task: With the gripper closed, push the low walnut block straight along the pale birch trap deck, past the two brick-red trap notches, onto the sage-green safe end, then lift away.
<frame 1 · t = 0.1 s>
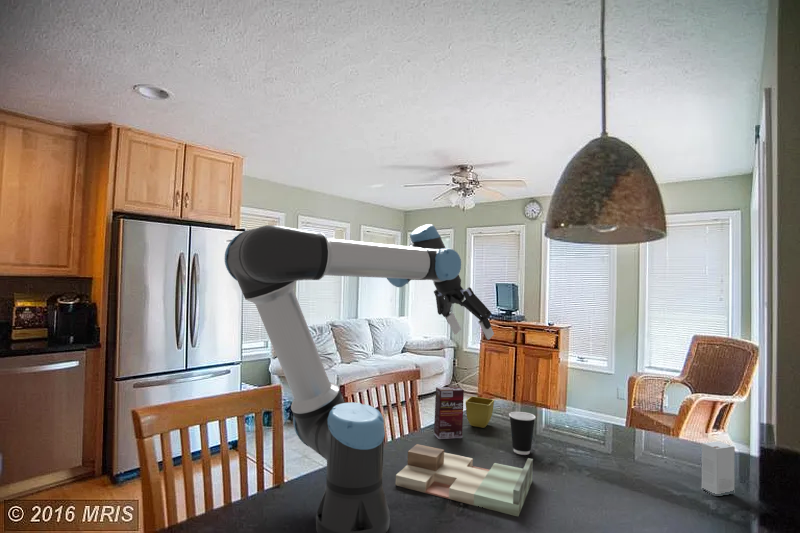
hand: (473, 334, 129), 36 cm above the table, tool tilted 35°, fingers open, 13 cm apart
supplement box: (448, 437, 143), on the table
dixie cup: (521, 452, 131), on the table
trap deck: (465, 482, 109), on the table
walnut block: (425, 463, 114), point 2 cm above the table, touching trap deck
flower pot: (479, 426, 155), on the table
skincare box: (718, 493, 108), on the table
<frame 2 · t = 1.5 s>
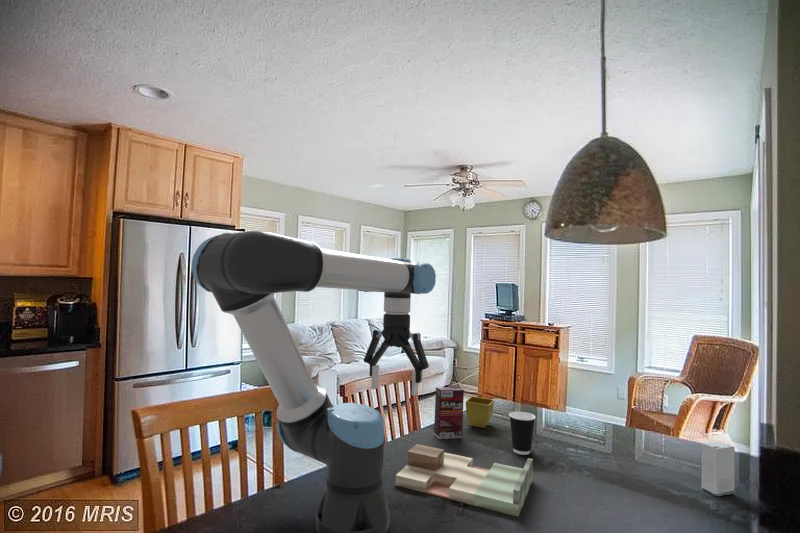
hand: (394, 391, 119), 20 cm above the table, tool pointing down, fingers open, 12 cm apart
nothing on the table moved.
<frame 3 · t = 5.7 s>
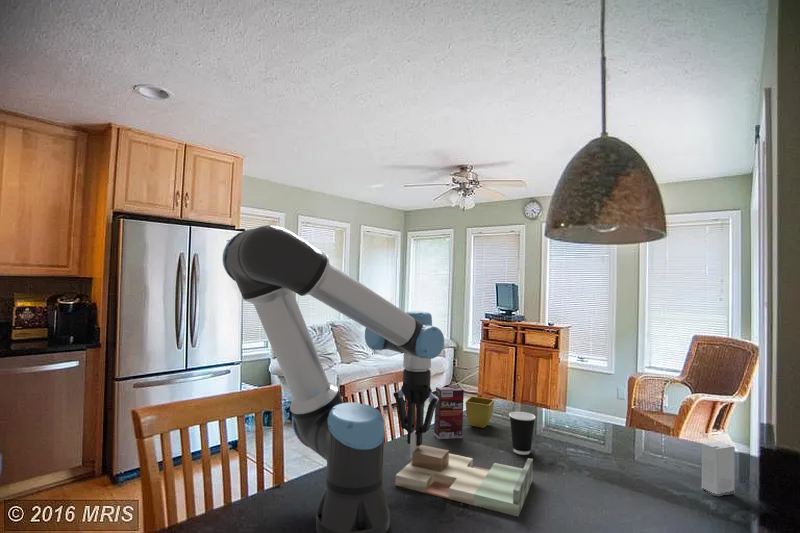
hand: (414, 456, 116), 4 cm above the table, tool pointing down, fingers closed
walnut block: (430, 464, 114), point 3 cm above the table, touching gripper
everything else where it was.
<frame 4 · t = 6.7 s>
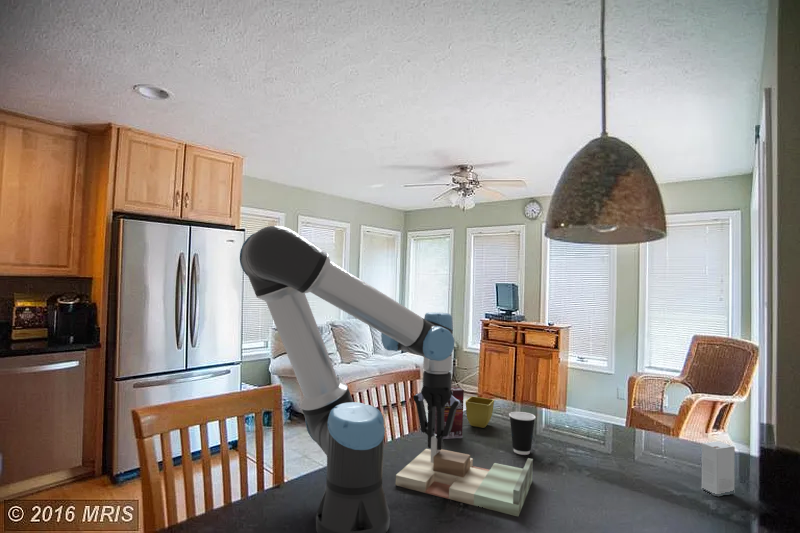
hand: (434, 460, 113), 4 cm above the table, tool pointing down, fingers closed
walnut block: (451, 469, 111), point 2 cm above the table, touching gripper, trap deck
everything else where it was.
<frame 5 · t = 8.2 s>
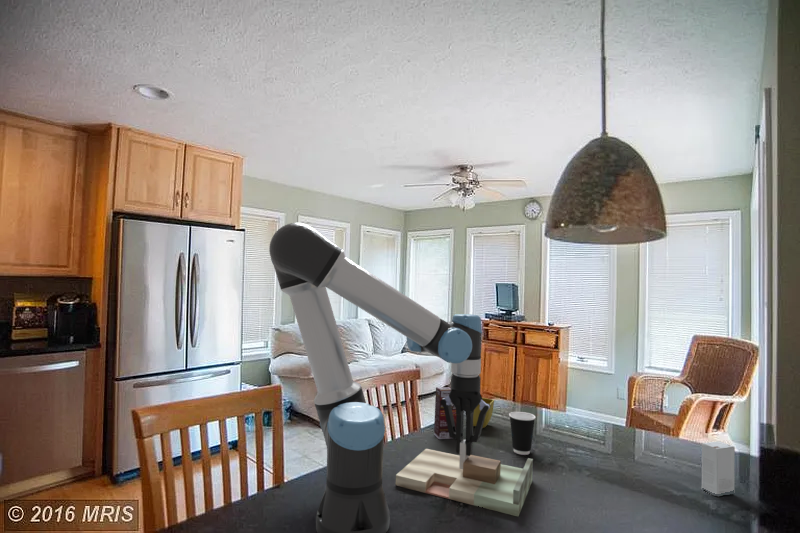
hand: (463, 467, 110), 4 cm above the table, tool pointing down, fingers closed
walnut block: (481, 476, 108), point 3 cm above the table, touching gripper
everything else where it was.
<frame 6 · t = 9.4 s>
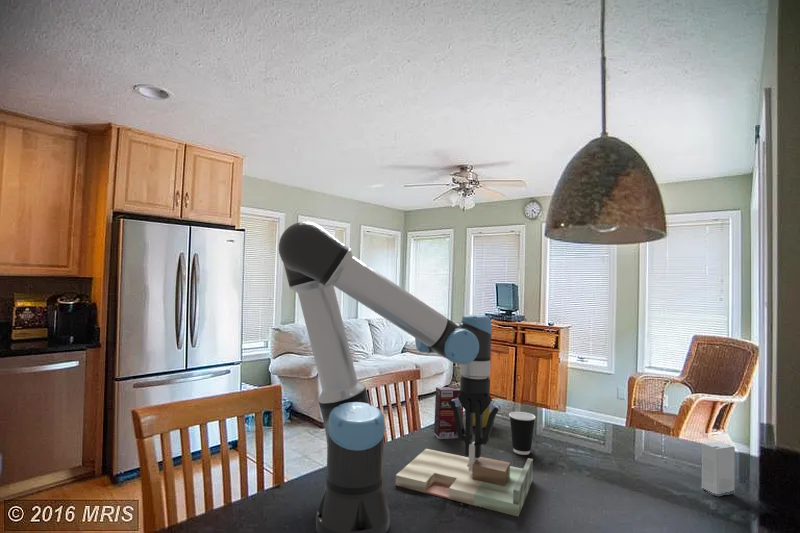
hand: (472, 469, 109), 4 cm above the table, tool pointing down, fingers closed
walnut block: (491, 478, 107), point 2 cm above the table, touching gripper, trap deck
everything else where it was.
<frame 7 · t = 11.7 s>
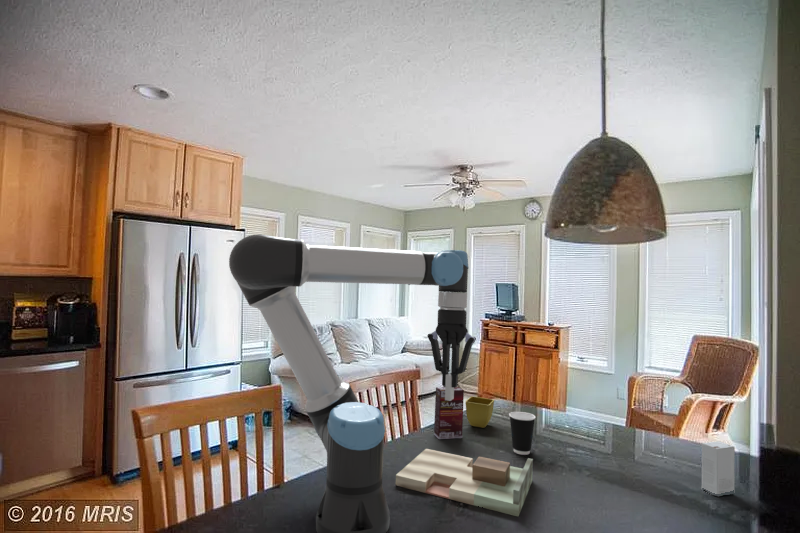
hand: (449, 399, 112), 20 cm above the table, tool pointing down, fingers closed
walnut block: (491, 478, 107), point 2 cm above the table, touching trap deck
everything else where it was.
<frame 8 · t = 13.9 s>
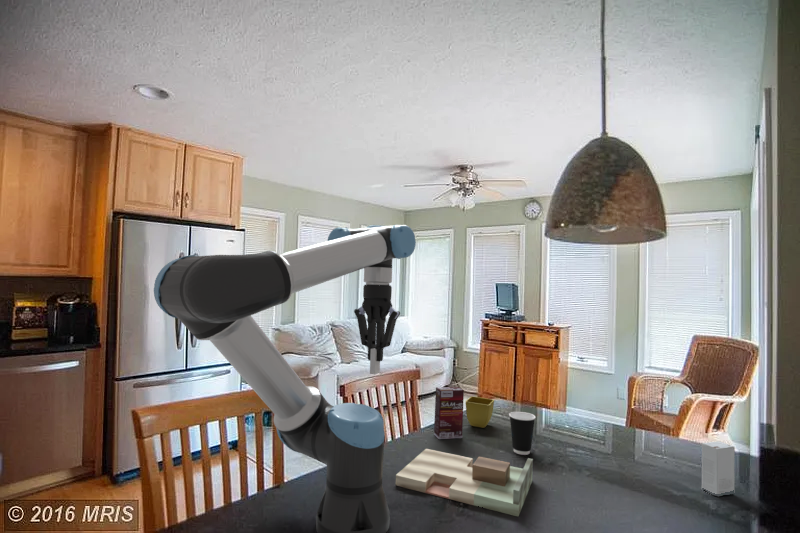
hand: (374, 373, 113), 26 cm above the table, tool pointing down, fingers closed
nothing on the table moved.
at the end: walnut block 1.8 cm from the target spot on the trap deck, point 2.5 cm above the trap deck's base; walnut block tilted 0°; walnut block moved 17.5 cm from its start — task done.
